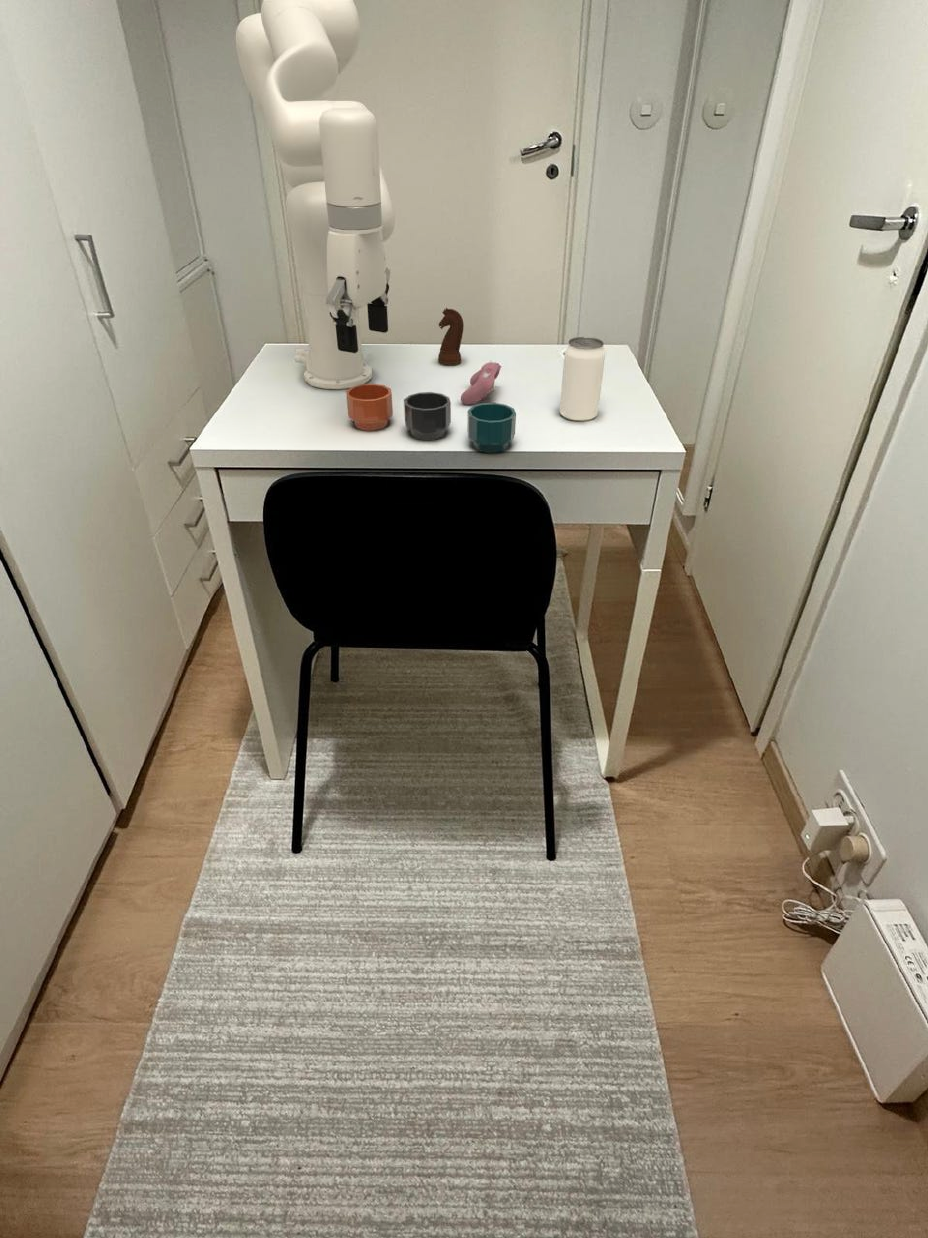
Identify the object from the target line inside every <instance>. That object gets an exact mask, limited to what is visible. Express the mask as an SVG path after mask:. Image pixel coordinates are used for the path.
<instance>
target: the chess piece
mask: <svg viewBox="0 0 928 1238" xmlns="http://www.w3.org/2000/svg"><path fill="white" fill-rule="evenodd" d="M441 313H442V314H443V317H442V318H441V320H440V321H439V323H438V327H439V329H441V330H443V328H444V327H448V326H449V327H448V329H447V331H446V333H445V335H444V337H443V339H442V340H441V341H442V342H441V345H440V348H439V352H438V358H437V362H438V364H439V365H440V366H441V365H442V366H445V367H454V366H458V365H460V364H461V363H462V353H461V352H460V349H461V345H462V339H463V334H464V327H465V326H464V320H463V317H462V315H461V313H460V312H459V311H457V310H455V309H453V308H448V307H445V308H444V309H443V311H441Z"/></svg>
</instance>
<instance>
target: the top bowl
mask: <svg viewBox="0 0 928 1238" xmlns="http://www.w3.org/2000/svg"><path fill="white" fill-rule="evenodd" d="M466 416H467V417H466V420H467V424H466V425H467V427H466V428H467V431H466V432H467V437H468V439H469V441H471V442H472V443H473V448H474V449H476V450H477V451H479V452H483V453H489V454H490V453H492V454H493V453H494V454H495V453H501V452H503V451H505V450H506V449H508V447H509V443H510V442H512V441H513V440H514V439H515V435H516V428H517V427H516V426H517V425H516V424H517V423H516V422H517V412H516V410H515V408H513V407H511V406H509V405H507V404H504V403H498V402H483V403H478V404H476V405H472V406H471V407H470V408H469V409H467V415H466Z"/></svg>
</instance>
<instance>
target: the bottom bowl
mask: <svg viewBox="0 0 928 1238" xmlns="http://www.w3.org/2000/svg"><path fill="white" fill-rule="evenodd" d="M451 405H452V402H451V399H450V396H447V395H446V394H443V393H439V392H433V391H425V392H424V391H423V392H416V393H412V394H409V395H408V396H406V397H405V398H404V399H403V410H404V411H403V414H404V422H405V423H404V425H405V428H406V429H408V430H410V434H411V436H412V437H413V438H415V439H417V440H420V441H435V440H439V439H441V438H443V437H444V436H445V433H446V430H447V429H449V428H450V426H451V423H452V411H451V410H452V409H451V408H452V406H451Z"/></svg>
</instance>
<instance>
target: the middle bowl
mask: <svg viewBox="0 0 928 1238" xmlns="http://www.w3.org/2000/svg"><path fill="white" fill-rule="evenodd" d="M345 397H346V406H347V415H348V418H349V419H350V420H351V421H353V422H354V426H355V427H356V428H357V429H358V430H362V431H377V430H382V429H385V428H386V427H387V426H388V425H389V423H388V422H389V419H392V417H393V415H394V414H393V413H394V411H393V409H394V408H393V407H394V406H393V393H392V389H391V388H390V387H389V386H387V385H384V384H379V383H364V384H361V385H357V386H353V387H351V388H347V390H346V391H345Z"/></svg>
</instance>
